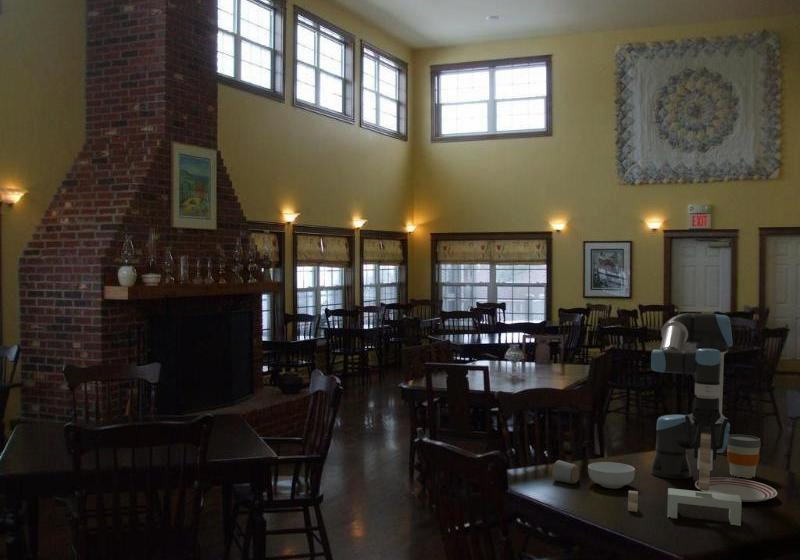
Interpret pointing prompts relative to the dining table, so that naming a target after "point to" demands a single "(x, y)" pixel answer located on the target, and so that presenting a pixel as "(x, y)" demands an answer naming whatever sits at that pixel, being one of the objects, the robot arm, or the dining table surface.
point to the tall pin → (705, 461)
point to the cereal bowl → (611, 474)
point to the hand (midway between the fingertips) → (704, 468)
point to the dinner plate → (740, 489)
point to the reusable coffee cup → (743, 455)
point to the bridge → (705, 502)
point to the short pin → (633, 501)
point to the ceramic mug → (565, 472)
